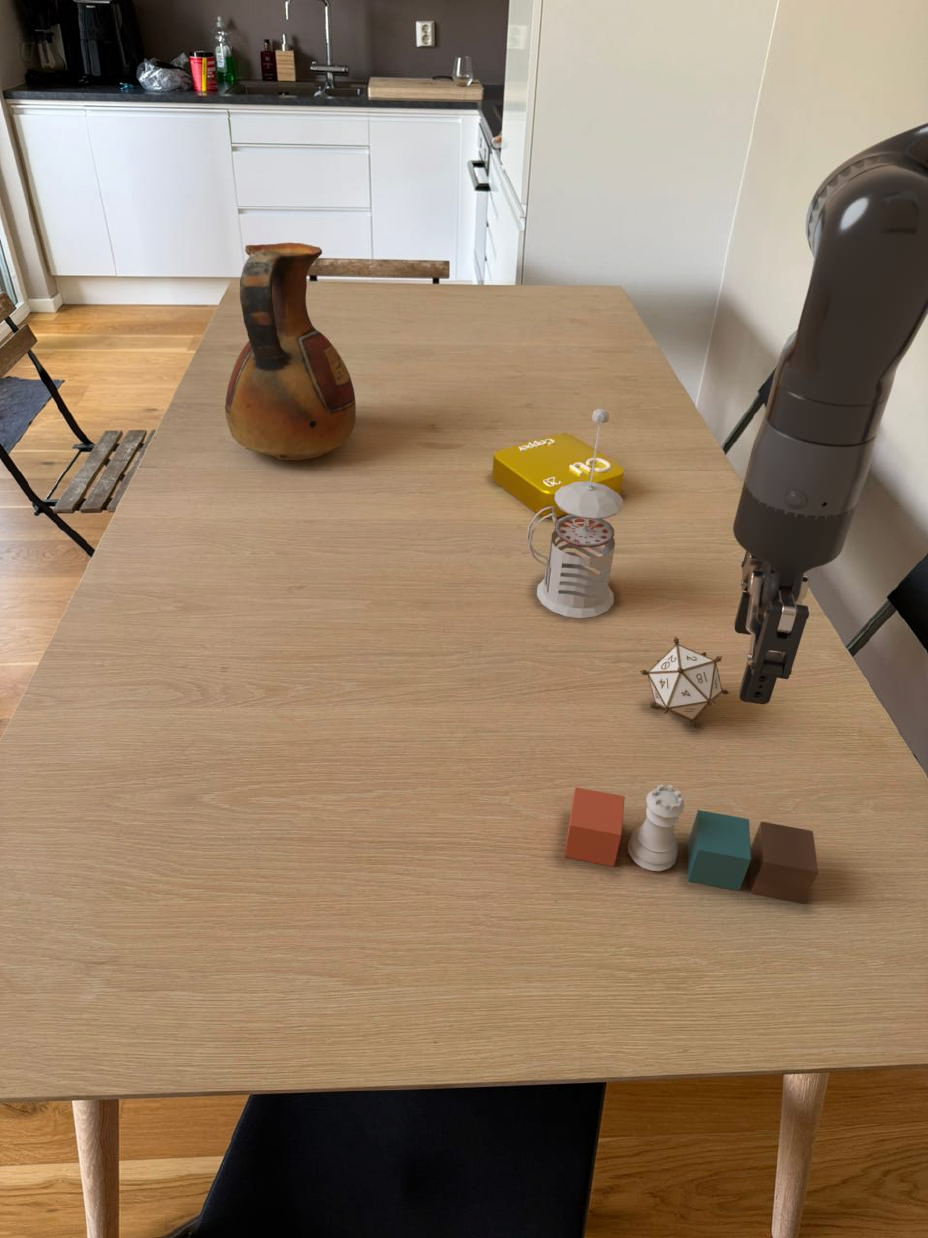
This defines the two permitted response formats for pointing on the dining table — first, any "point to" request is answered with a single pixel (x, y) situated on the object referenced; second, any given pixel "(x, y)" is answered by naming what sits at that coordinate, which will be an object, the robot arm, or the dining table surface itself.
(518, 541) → the dining table surface
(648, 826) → the rook chess piece
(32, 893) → the dining table surface
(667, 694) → the game die
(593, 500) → the french press
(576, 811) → the terracotta block
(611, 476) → the element tile
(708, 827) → the teal block
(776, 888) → the walnut block
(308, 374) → the ceramic pitcher
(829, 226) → the robot arm
